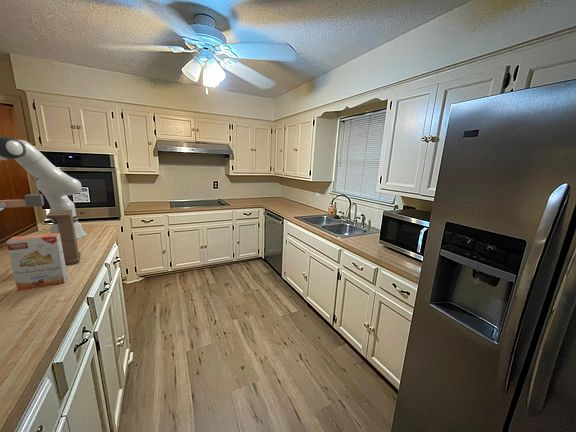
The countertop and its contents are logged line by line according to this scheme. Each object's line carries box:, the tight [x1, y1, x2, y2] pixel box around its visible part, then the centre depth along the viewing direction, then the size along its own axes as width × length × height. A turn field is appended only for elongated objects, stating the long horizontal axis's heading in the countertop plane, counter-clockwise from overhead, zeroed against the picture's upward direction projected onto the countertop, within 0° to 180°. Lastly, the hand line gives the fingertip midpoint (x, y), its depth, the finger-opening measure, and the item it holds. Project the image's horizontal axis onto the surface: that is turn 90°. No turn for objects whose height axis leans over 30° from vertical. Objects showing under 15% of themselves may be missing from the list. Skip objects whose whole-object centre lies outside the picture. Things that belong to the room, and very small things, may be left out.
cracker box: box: [5, 233, 69, 292], centre depth 97 cm, size 14×6×21 cm, turn 121°
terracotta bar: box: [0, 193, 45, 209], centre depth 107 cm, size 5×16×5 cm, turn 127°
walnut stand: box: [45, 210, 82, 266], centre depth 120 cm, size 12×8×25 cm
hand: (6, 202), depth 106 cm, fingers closed on terracotta bar, 3 cm apart
